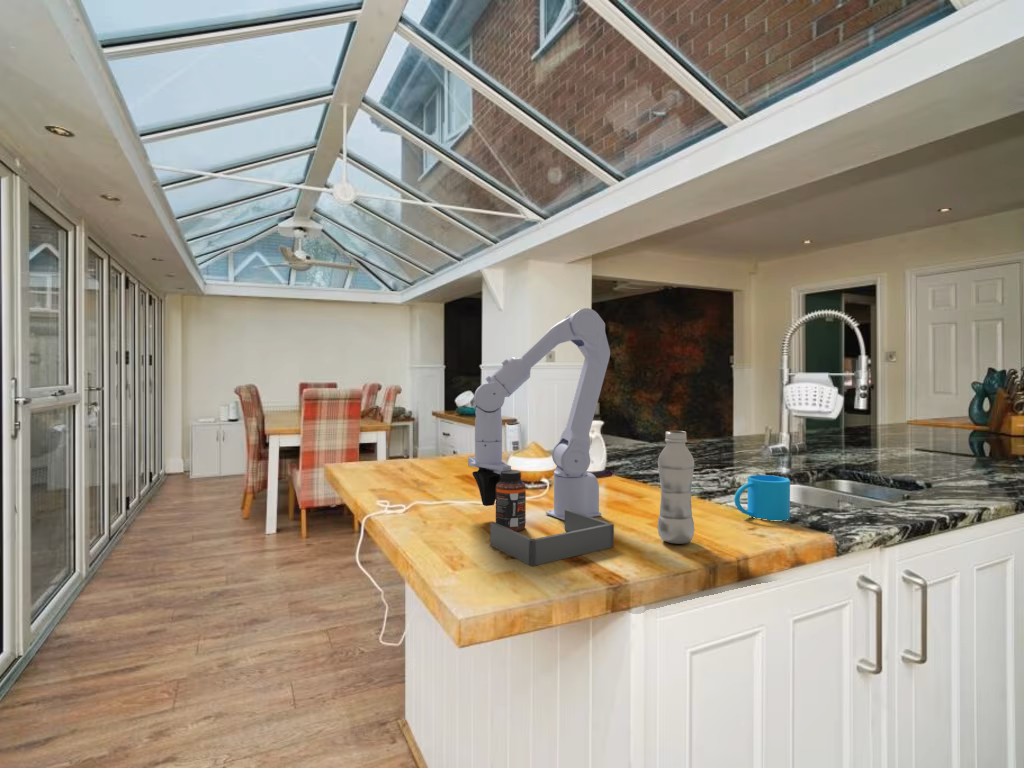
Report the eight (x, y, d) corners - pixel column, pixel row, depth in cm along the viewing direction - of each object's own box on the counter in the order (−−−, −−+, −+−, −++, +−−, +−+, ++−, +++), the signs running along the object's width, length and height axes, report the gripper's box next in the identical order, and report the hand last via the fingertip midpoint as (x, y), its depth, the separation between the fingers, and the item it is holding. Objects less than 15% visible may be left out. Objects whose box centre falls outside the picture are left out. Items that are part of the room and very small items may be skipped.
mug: (772, 511, 121) (772, 474, 121) (798, 520, 113) (799, 481, 113) (723, 513, 119) (723, 476, 118) (746, 523, 111) (747, 483, 110)
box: (567, 529, 106) (567, 509, 106) (613, 546, 96) (613, 524, 96) (490, 545, 97) (490, 522, 97) (531, 566, 86) (531, 541, 86)
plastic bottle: (694, 538, 100) (695, 430, 100) (694, 549, 94) (694, 434, 94) (658, 535, 103) (658, 429, 102) (655, 546, 96) (656, 433, 96)
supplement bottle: (522, 533, 104) (522, 474, 104) (492, 531, 105) (492, 473, 105) (528, 525, 110) (528, 469, 110) (499, 523, 111) (499, 468, 111)
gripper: (455, 438, 118) (455, 500, 119) (489, 445, 106) (489, 514, 106) (483, 436, 122) (483, 496, 122) (519, 443, 110) (519, 510, 110)
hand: (488, 504), depth 115 cm, fingers closed
